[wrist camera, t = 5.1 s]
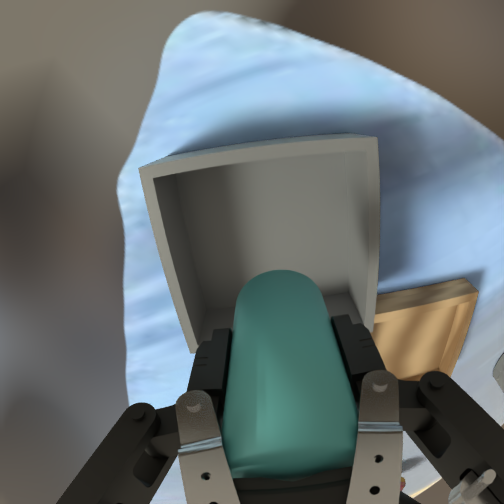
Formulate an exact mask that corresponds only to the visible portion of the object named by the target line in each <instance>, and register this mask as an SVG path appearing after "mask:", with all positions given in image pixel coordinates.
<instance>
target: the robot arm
mask: <svg viewBox="0 0 504 504" xmlns="http://www.w3.org/2000/svg"><path fill="white" fill-rule="evenodd" d="M331 324H332V327H333V330H334V333H335V336H336V339H337V342H338V346H339V349H340V352H341V355H342V359H343V362H344V365H345V369H346V372H347V375H348V379H349V382H350V385H351V389H352V392H353V396H354V399H355V403H356V406H357V410H358V428H357V439H356V448H355V452H354V456H353V463H352V466H350V467H344V468H339V469H333V470H327V471H323V472H320V473H317V474H314V475H312V476H309V477H306V478H303V479H300V480H297V481H284V480H277V479H270V478H264V477H257V478H233V474H232V469H231V468H230V466H229V464H228V461H227V457H226V453H225V448H224V444H223V439H222V433H221V432H222V422H223V413H224V404H225V395H226V386H227V377H228V368H229V359H230V350H231V341H232V330H231V328H220V329H214V330H213V334H212V339H211V341H203V342H202V343H201V344H200V346H199V347H198V348H197V350H196V354H195V359H194V362H193V367H192V371H191V375H190V379H189V384H188V388H187V392H186V393H184V394H182V395H181V396H180V397H179V398H178V400H177V401H176V404H174V405H172V406H169V407H165V408H160V409H156V410H155V409H154V407H153V406H152V405H150V404H148V403H136V404H133V405H131V406H130V407H128V408H127V409H126V411H125V412H124V413H123V414H122V416H121V417H120V418H119V420H118V421H117V422H116V424H115V425H114V426H113V428H112V429H111V430H110V432H109V433H108V434H107V436H106V437H105V438H104V440H103V441H102V442H101V444H100V445H99V447H98V448H97V449H96V450H95V452H94V453H93V454H92V456H91V457H90V459H89V460H88V461H87V463H86V464H85V465H84V467H83V468H82V469H81V471H80V472H79V473H78V475H77V476H76V477H75V479H74V480H73V481H72V483H71V484H70V485H69V487H68V488H67V489H66V491H65V492H64V493H63V495H62V496H61V498H60V499H59V500H58V502H57V503H56V504H149V503H150V502H151V500H152V498H153V497H154V495H155V493H156V492H157V490H158V488H159V486H160V485H161V483H162V481H163V480H164V478H165V476H166V474H167V473H168V471H169V469H170V468H171V466H172V464H173V462H174V461H175V459H176V457H177V455H178V457H179V463H180V469H181V475H182V480H183V486H184V491H185V496H186V501H187V504H421V503H419V502H417V501H416V500H414V499H413V498H411V497H409V496H408V495H406V494H405V493H403V492H402V491H400V484H401V471H402V450H403V431H406V433H407V434H408V435H409V436H410V438H411V439H412V440H413V441H414V443H415V444H416V445H417V446H418V448H419V449H420V450H421V451H422V453H423V454H424V455H425V456H426V458H427V459H428V460H429V461H430V463H431V464H432V465H433V466H434V468H435V469H436V470H437V471H438V473H439V474H440V475H441V476H442V478H443V479H444V480H445V481H446V483H447V484H448V485H449V487H450V488H451V489H452V491H451V492H450V495H449V504H504V429H503V428H502V427H501V426H500V425H499V424H498V423H497V422H496V421H495V420H494V419H493V418H492V417H491V416H490V415H489V414H488V413H487V412H486V411H485V410H484V409H483V408H482V407H480V406H479V405H478V404H477V403H476V402H475V401H474V400H473V399H472V398H471V397H470V396H469V395H468V394H467V393H466V392H465V391H464V390H463V389H462V388H461V387H460V386H459V385H458V384H457V383H456V382H454V381H453V380H452V379H451V378H450V377H449V376H448V375H447V374H445V373H443V372H440V371H430V372H427V373H425V374H424V375H423V376H422V377H421V379H420V381H406V380H400V379H397V378H396V376H395V375H394V374H393V373H391V372H389V371H387V369H386V367H385V365H384V362H383V360H382V358H381V356H380V353H379V351H378V349H377V347H376V345H375V342H374V340H373V339H372V336H371V333H370V331H369V329H368V328H366V327H365V326H364V325H363V324H361V323H358V324H352V321H351V319H350V316H349V314H342V315H336V316H331ZM493 377H494V378H495V380H496V381H497V383H498V384H499V386H500V388H501V389H502V391H503V392H504V354H503V355H502V356H501V358H500V359H499V361H498V362H497V364H496V366H495V368H494V370H493Z"/></svg>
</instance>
